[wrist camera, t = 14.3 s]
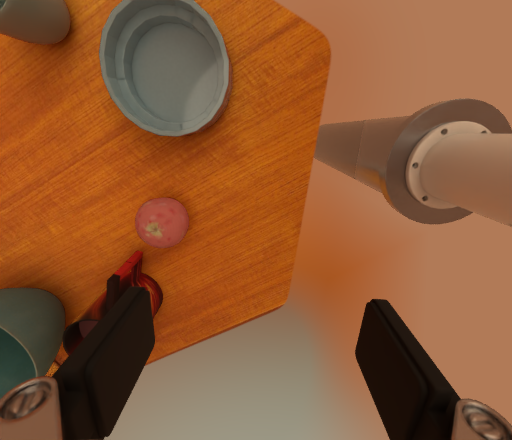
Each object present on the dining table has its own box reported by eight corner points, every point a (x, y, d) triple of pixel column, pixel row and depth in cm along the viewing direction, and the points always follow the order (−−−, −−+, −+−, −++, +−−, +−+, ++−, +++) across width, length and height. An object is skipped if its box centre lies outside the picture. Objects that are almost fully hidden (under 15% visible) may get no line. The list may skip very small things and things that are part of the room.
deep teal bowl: (-1, 335, 50) (-78, 396, 39) (-16, 256, 44) (-113, 300, 33) (91, 350, 51) (42, 414, 40) (88, 274, 45) (30, 323, 34)
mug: (145, 246, 43) (104, 287, 32) (169, 311, 48) (141, 367, 36) (92, 255, 44) (35, 299, 33) (122, 318, 49) (80, 376, 37)
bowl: (234, 12, 32) (229, -8, 27) (231, 138, 37) (227, 139, 32) (114, 5, 32) (89, -16, 27) (128, 132, 37) (109, 132, 32)
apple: (150, 232, 42) (126, 254, 35) (148, 189, 40) (122, 203, 32) (194, 237, 43) (180, 260, 35) (195, 195, 40) (180, 209, 33)
